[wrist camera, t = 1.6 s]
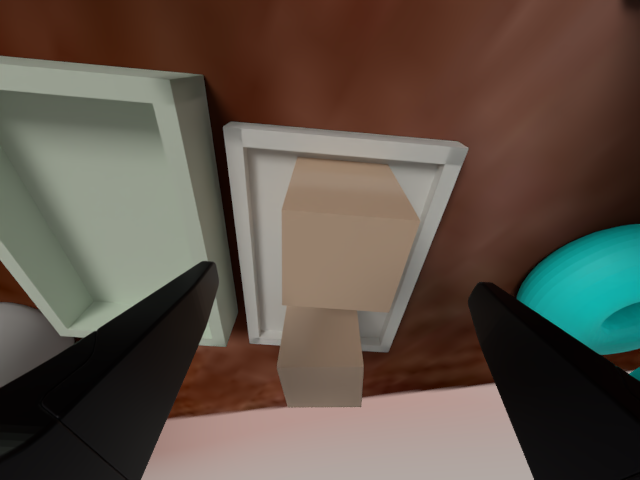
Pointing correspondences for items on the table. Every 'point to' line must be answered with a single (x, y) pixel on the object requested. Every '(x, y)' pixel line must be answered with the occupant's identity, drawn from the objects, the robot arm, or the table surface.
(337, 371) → the tan rectangular block
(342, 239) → the tan rectangular block
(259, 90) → the table surface
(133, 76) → the bin
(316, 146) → the tray
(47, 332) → the cup
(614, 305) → the donuts
